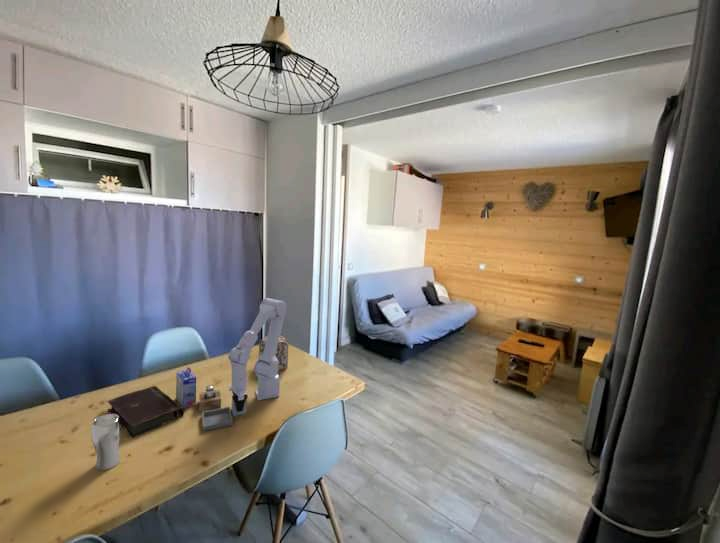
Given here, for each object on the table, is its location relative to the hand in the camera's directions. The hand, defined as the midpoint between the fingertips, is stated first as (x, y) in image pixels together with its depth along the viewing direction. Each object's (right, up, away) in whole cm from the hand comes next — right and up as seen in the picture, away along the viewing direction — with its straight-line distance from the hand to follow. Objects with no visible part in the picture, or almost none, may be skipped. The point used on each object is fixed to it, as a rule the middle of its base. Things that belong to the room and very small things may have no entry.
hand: (238, 407), depth 133 cm
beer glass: (-29, -5, -31) cm, 43 cm away
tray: (-6, -2, -7) cm, 10 cm away
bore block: (-13, 0, +3) cm, 14 cm away
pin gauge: (-14, 0, +3) cm, 14 cm away
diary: (-35, -1, -5) cm, 36 cm away
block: (0, -2, 0) cm, 2 cm away
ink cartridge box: (-24, 0, +5) cm, 25 cm away
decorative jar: (+3, +4, +42) cm, 42 cm away
